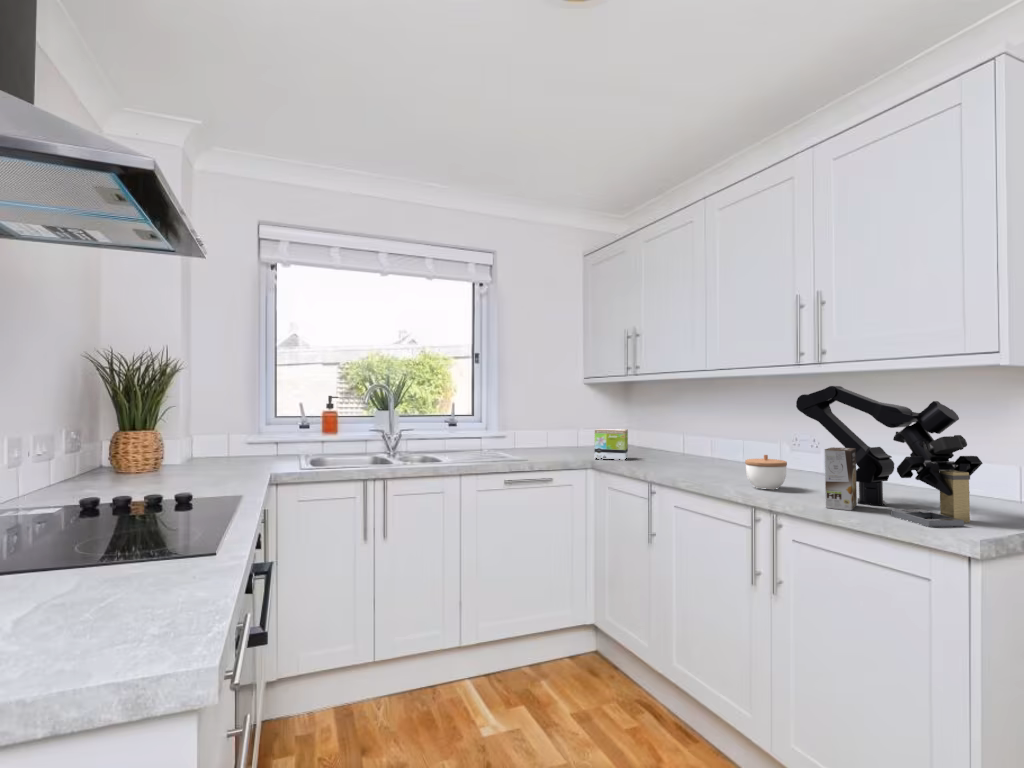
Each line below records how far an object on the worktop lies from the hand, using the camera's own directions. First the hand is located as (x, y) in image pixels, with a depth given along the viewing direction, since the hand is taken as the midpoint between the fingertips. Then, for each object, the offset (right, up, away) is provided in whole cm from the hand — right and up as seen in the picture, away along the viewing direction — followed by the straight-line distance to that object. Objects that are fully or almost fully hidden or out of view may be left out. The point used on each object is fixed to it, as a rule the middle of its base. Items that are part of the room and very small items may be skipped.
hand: (959, 494), depth 135 cm
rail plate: (-7, -7, 0) cm, 10 cm away
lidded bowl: (-24, -8, +50) cm, 56 cm away
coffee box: (-17, -7, +19) cm, 27 cm away
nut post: (0, -7, +1) cm, 7 cm away
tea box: (-60, -10, +136) cm, 149 cm away
